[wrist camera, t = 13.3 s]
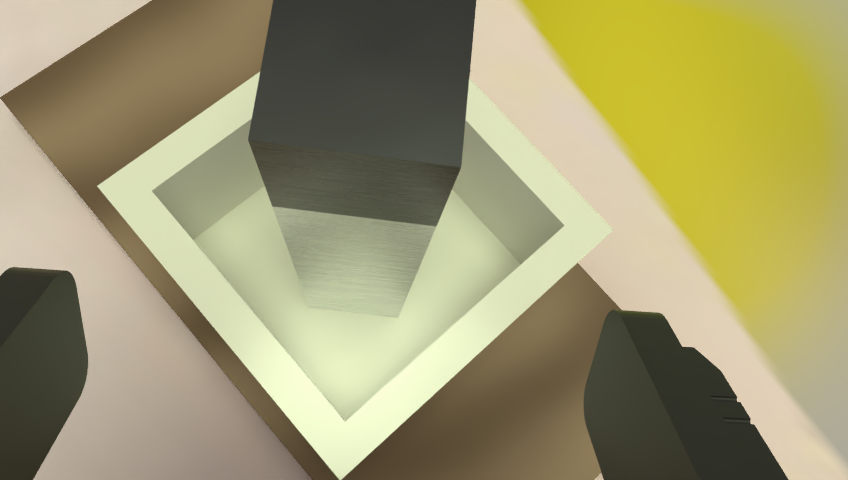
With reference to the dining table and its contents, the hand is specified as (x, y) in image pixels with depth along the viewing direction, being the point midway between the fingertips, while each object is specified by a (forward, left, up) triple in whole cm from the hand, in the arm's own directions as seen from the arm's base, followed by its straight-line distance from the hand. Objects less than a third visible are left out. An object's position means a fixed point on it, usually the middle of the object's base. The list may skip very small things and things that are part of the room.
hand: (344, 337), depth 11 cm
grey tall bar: (-3, +3, -12) cm, 13 cm away
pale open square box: (-3, +3, -13) cm, 14 cm away
